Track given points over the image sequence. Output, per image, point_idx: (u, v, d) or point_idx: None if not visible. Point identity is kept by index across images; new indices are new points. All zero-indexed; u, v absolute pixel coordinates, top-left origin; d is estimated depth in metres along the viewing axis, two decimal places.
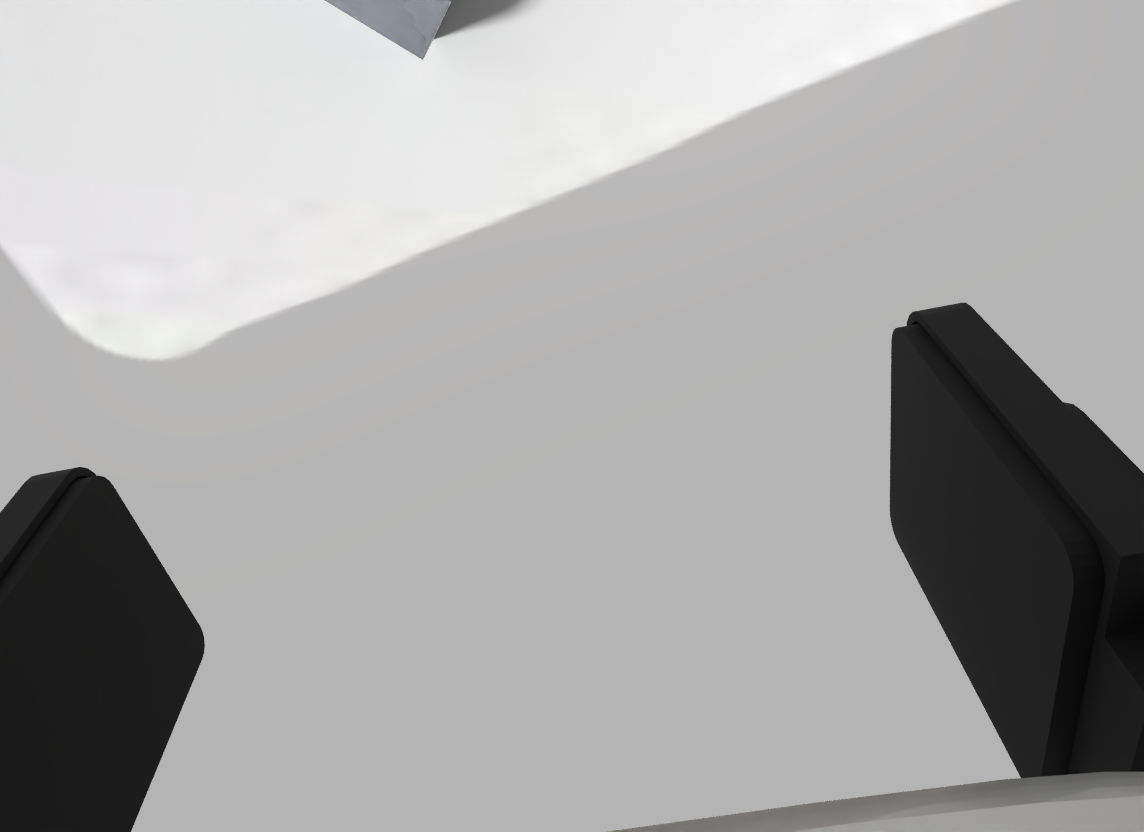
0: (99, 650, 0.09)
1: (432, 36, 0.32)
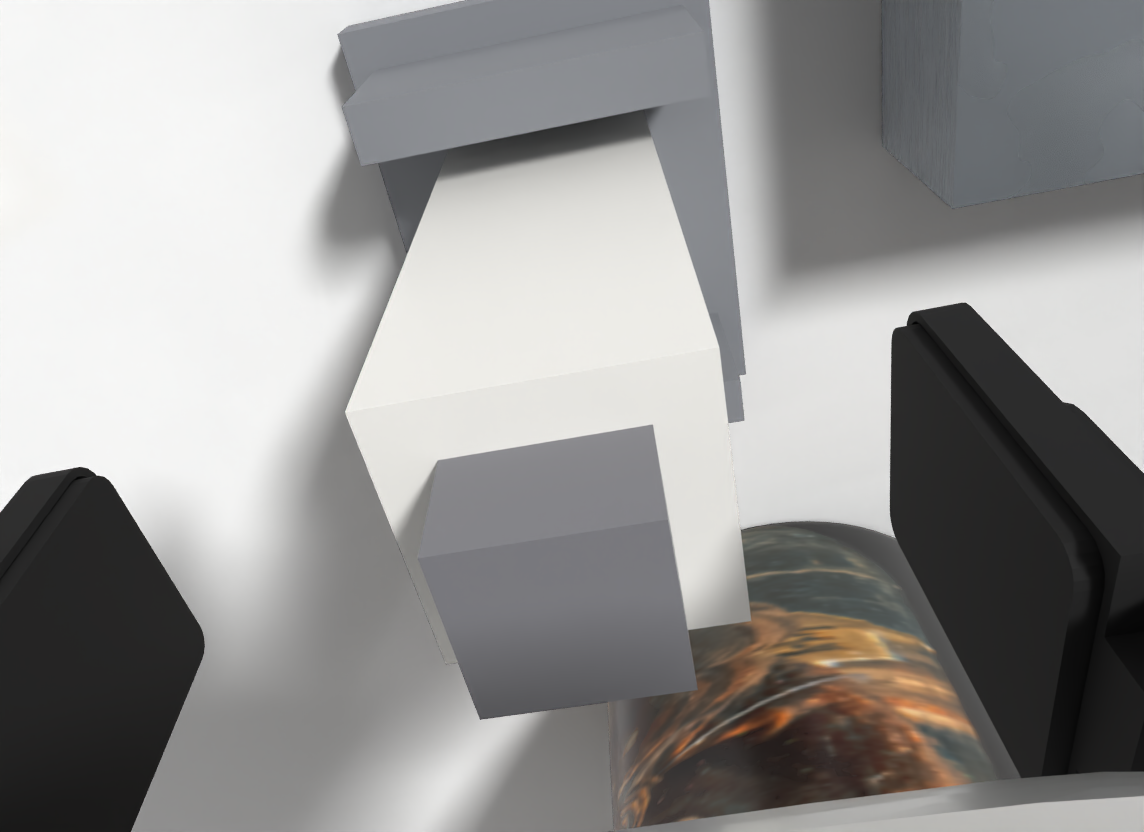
0: (99, 650, 0.09)
1: None
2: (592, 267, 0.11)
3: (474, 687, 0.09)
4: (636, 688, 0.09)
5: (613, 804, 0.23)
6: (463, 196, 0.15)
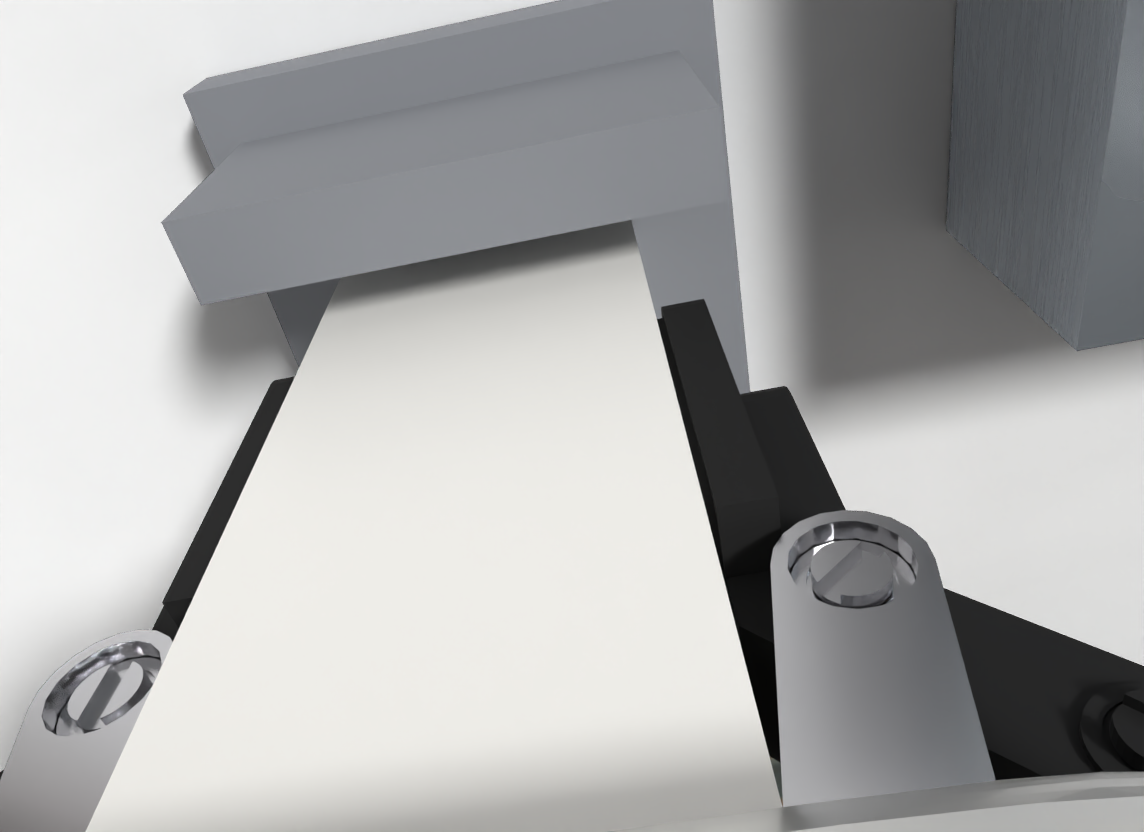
0: None
1: None
2: (540, 567, 0.06)
3: None
4: None
5: None
6: (356, 349, 0.10)
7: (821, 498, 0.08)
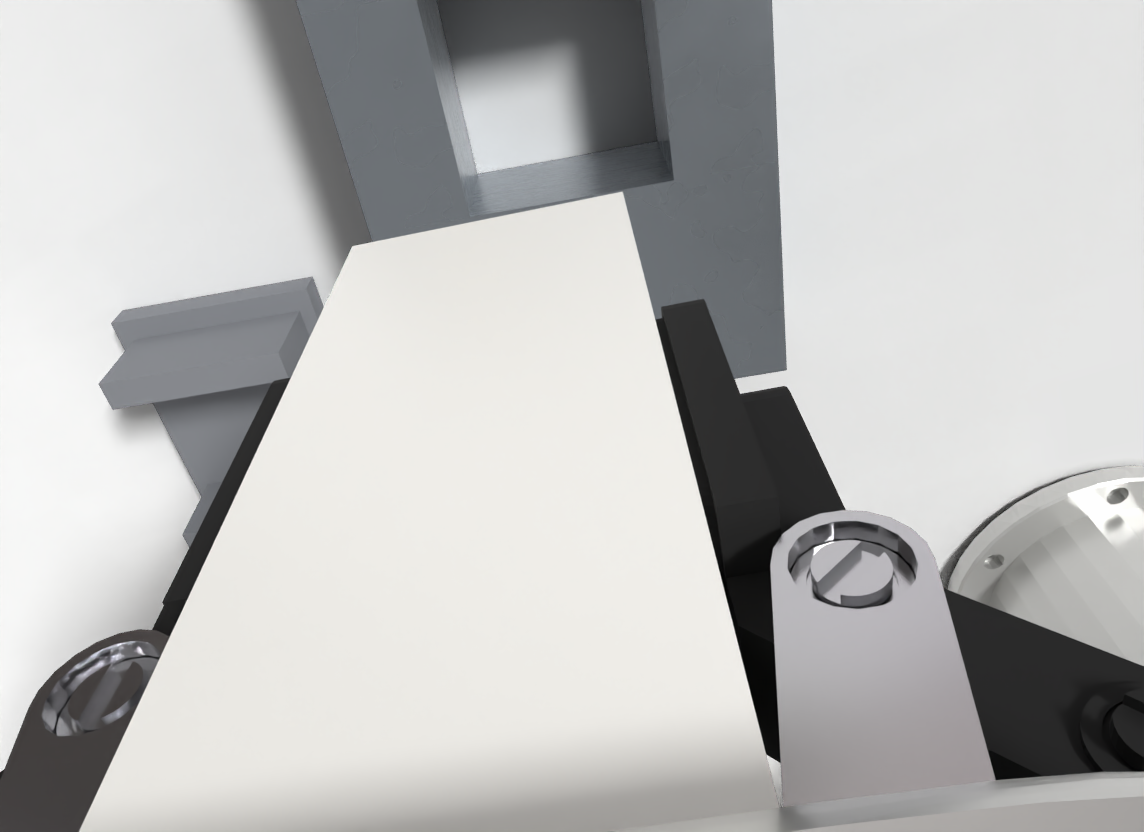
0: None
1: None
2: (537, 564, 0.06)
3: None
4: None
5: None
6: (354, 346, 0.10)
7: (821, 498, 0.08)
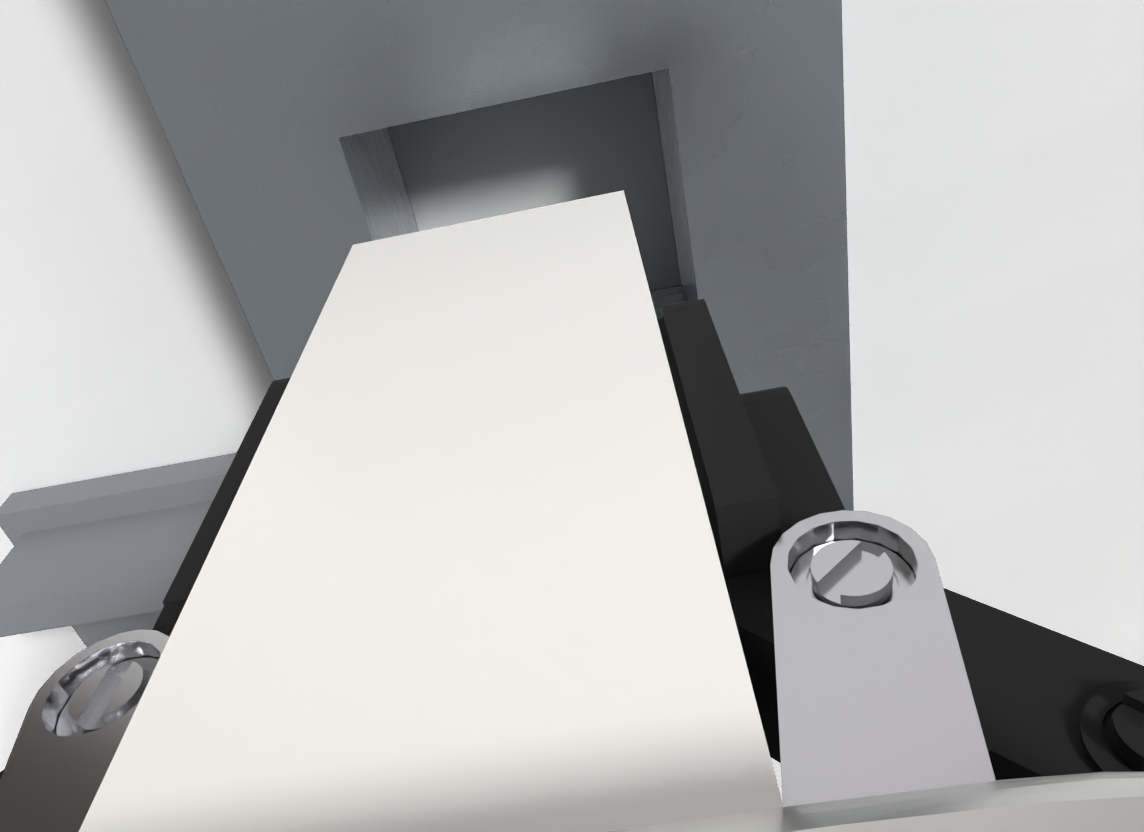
0: None
1: None
2: (539, 562, 0.06)
3: None
4: None
5: None
6: (354, 345, 0.10)
7: (820, 498, 0.08)
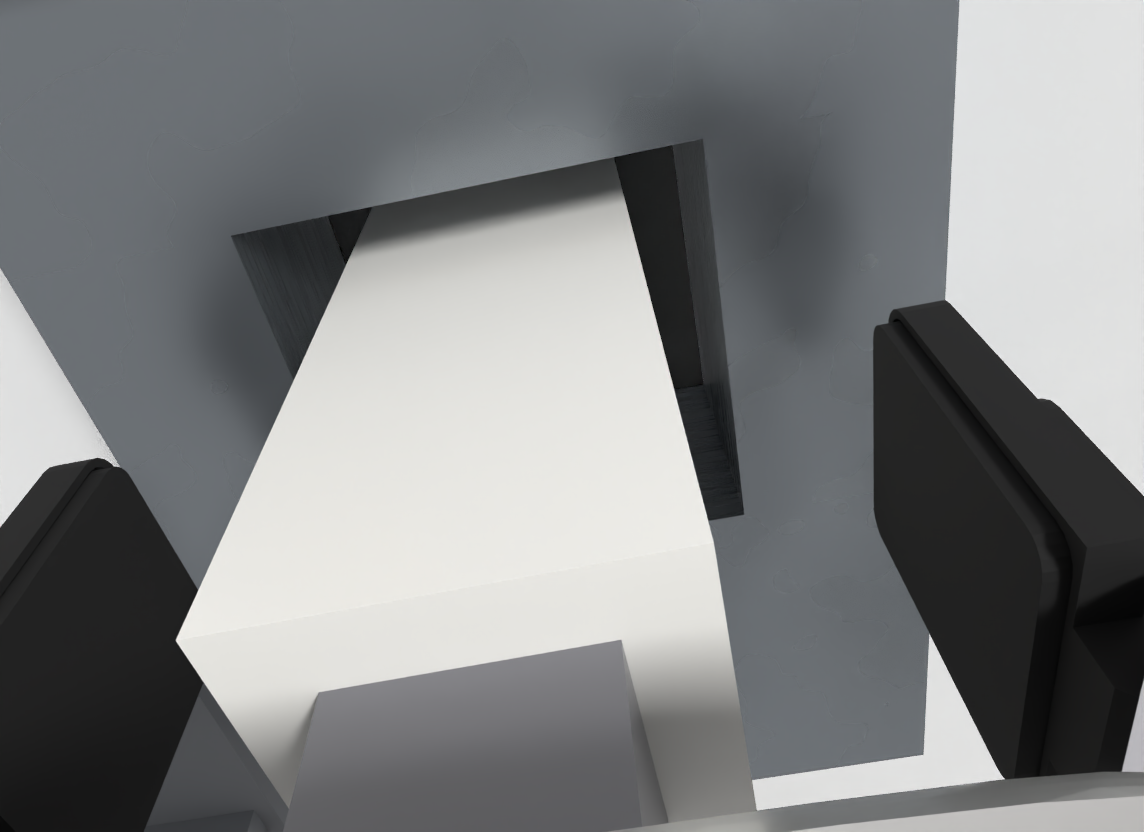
0: (117, 639, 0.09)
1: None
2: (538, 384, 0.08)
3: None
4: None
5: None
6: (387, 262, 0.12)
7: None
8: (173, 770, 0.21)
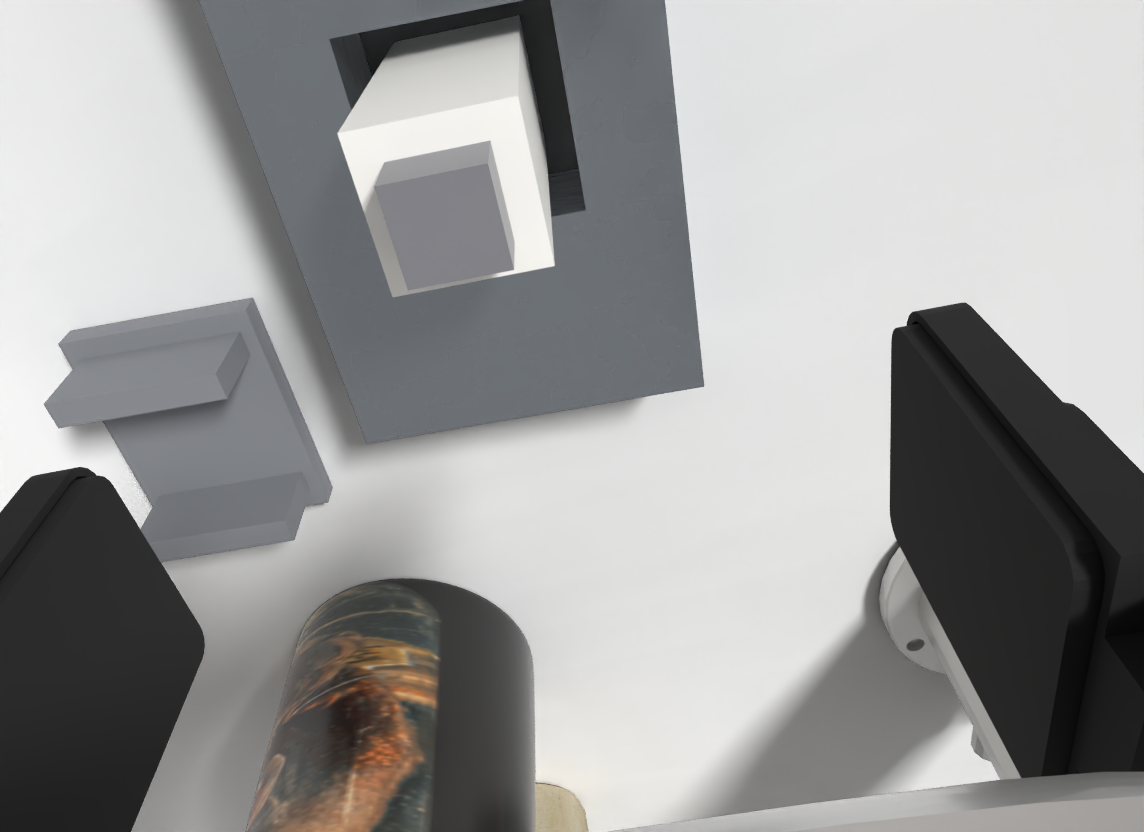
0: (99, 650, 0.09)
1: None
2: (467, 79, 0.21)
3: (404, 268, 0.19)
4: (483, 268, 0.19)
5: None
6: (401, 60, 0.24)
7: None
8: (252, 436, 0.34)
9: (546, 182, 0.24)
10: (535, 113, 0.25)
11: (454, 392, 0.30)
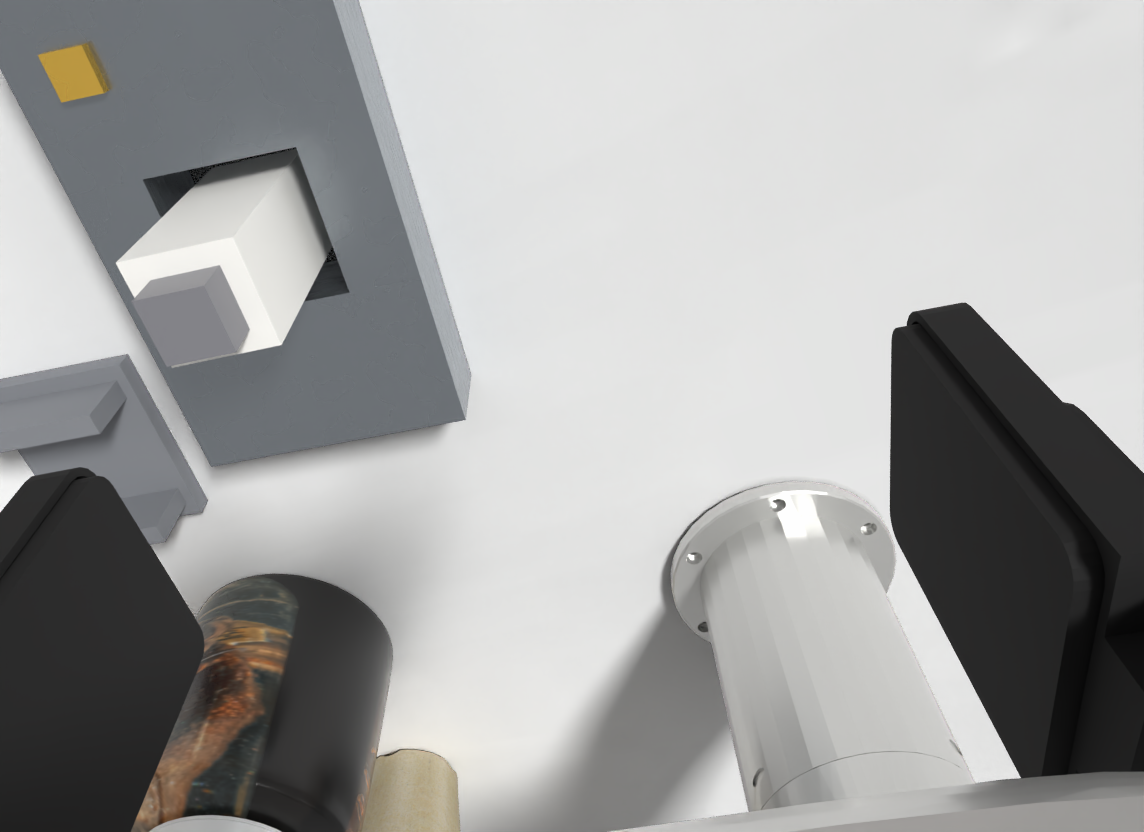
0: (99, 650, 0.09)
1: None
2: (221, 216, 0.30)
3: (161, 352, 0.28)
4: (215, 351, 0.28)
5: None
6: (201, 190, 0.33)
7: None
8: (135, 460, 0.43)
9: (306, 276, 0.33)
10: (306, 223, 0.34)
11: (273, 426, 0.39)
